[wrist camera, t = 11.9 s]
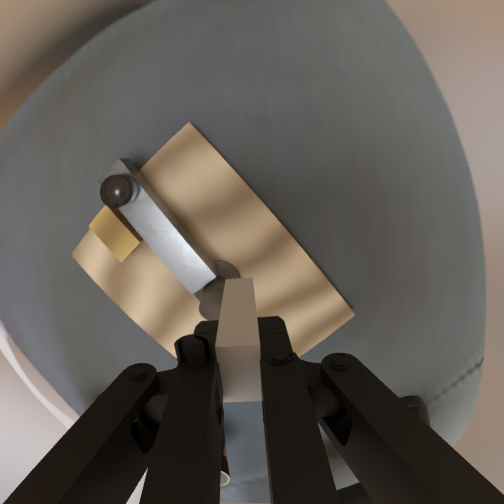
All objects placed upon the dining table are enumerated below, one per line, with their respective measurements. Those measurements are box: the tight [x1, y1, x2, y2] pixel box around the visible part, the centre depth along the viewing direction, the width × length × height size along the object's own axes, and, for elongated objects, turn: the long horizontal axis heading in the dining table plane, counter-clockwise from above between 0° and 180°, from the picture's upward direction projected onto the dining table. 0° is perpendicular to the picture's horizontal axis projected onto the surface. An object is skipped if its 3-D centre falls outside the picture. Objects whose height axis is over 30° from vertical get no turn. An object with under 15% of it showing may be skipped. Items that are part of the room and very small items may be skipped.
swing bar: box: [98, 158, 218, 295], centre depth 23 cm, size 14×3×4 cm, turn 38°
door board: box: [71, 122, 355, 358], centre depth 27 cm, size 28×20×7 cm
